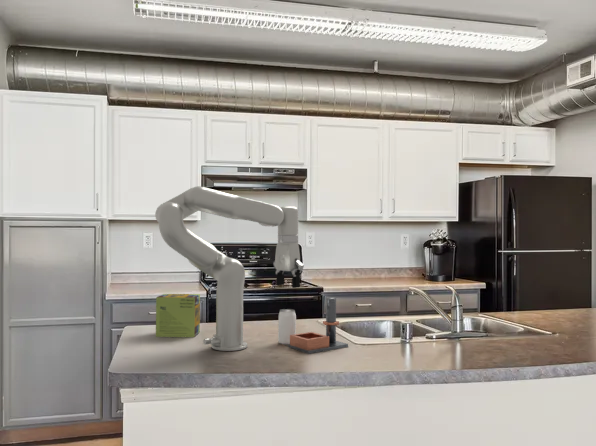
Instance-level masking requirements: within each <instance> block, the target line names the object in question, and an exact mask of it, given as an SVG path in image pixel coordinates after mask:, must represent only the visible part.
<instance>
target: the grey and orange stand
mask: <svg viewBox="0 0 596 446" xmlns="http://www.w3.org/2000/svg"><path fill="white" fill-rule="evenodd" d="M325 299H326V301H325V304H326V305H325V320H323V321H322V325H323V326H325V334H322V333H318V332H313V331H309V332H302V333H296V334H294V335H290V344H288V345H287V348H290V349H293V350H296V351H299V352H301V353H306V354H308V355H311V354H315V353H321V352H326V351H332V350H339V349H344V348H349V343H346V342H342V341H338V340H337V326H339V325H340V321H339V320H337V297H326V298H325Z"/></svg>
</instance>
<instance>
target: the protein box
mask: <svg viewBox="0 0 596 446" xmlns="http://www.w3.org/2000/svg"><path fill="white" fill-rule="evenodd" d="M155 300H156V301H155V337H156V338H195V337H196V336H197V335H198V334H199V333H201V293H163V294H160V295H158V296H157V297H156V299H155Z"/></svg>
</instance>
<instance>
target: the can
mask: <svg viewBox="0 0 596 446" xmlns="http://www.w3.org/2000/svg"><path fill="white" fill-rule="evenodd" d="M277 325H278V327H277V329H278V331H277V332H278V337H277V341H278V343H279V345H280V344H281V345H285V346H286V345H287V346H288V344H290V335H294V334H297V315H296V310H295V309H292V308H287V309H285V308H283V309H279V313H278V324H277Z"/></svg>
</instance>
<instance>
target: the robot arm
mask: <svg viewBox="0 0 596 446" xmlns="http://www.w3.org/2000/svg"><path fill="white" fill-rule="evenodd" d="M198 211H199V212H202V213H207V214H212V215H214V216H218V217H223V218H225V219H226V218H227V219H231V220H241V221H242V220H243V221H250V222H254V223H258V224H259V225H260V226H263V227H272V228H273V227H277V243H276V247H275V258H274V259H275V260H274V261H273V264H272V265H273V267H274V268H273V269H274V271H275V275H276V286H283V285H285V274H284V272H291V274H292V277H291V287H292V288H294V289H298V288H300V287H301V277H302V273H303V269H304V268H305V267H304V266H305V265H304V264H303V263H302V262H301V255H300V245H299V208H297V207H296V206H280V207H279V205H275V204H272V203H267V202H264V201H260V200H255V199H251V198H247V197H243V196H240V195H236V194H232V193H227V192H224V191H220V190H217V189H212V188H209V187H206V186H194V187H190V188H188V189H187V190H185V191H183V192H182V193H180V194H178V195H177V196H174V197H173V198H171V199H169V200H166V201H164V202H163V203H161V204H160V205H158V207H157V208H156V210H155V214H154V216H155V219H156V221H157V223H158V229H159V233H160V235H161V237H162V239H163V241H164V242H165V243H166V245H167V246H169V248H171V249H172V250H174V251H175V252H177V253H178V254H179V255H180V256H182V257H184V259H185V258H186V259H187V260H188V262H189V263H190V264H191V265H192V266H193V267H194V268H196V269H198V270H200V271H201V272H202V273H204V274H206V275H207V276H209V277H210V278H212V279H214V280H216V282H217V285H216V294H215V295H216V296H215V297H216V299H215V305H216V306H215V308H216V309H215V312H216V316H215V317H216V318H215V319H216V320H215V326H216V327H215V334H213V335H212V337H211V338H209V337H208V338H203V341H202V342H203V343H202V344H203V345H205V346H206V345H211V348H212V349H213V350H216V351H221V352H222V351H223V352H231V351H233V352H235V351H241V350H245V349H247V348H248V343H247V341H244V290H245V289H244V288H245V287H244V286H245V282H246V281H245V280H246V270H245V267H244V265H243V264H242V262H241V261H239V260H238V259H236V258H233V257H229V256H227V255H226V254H224V253H223V252H221V251H220V250H218V249H217V248H216V246H215V245H213V244H212V243H210V242H208V241H206V240H204V239H203V238H201V237H200V236H198V235H197V234H195V233H194V232H193V231H192V230H189V228H188V227H187V226H186V225H185V222H184V219H187V218H188V217H191V216H192V215H194V214H196V212H198Z"/></svg>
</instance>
